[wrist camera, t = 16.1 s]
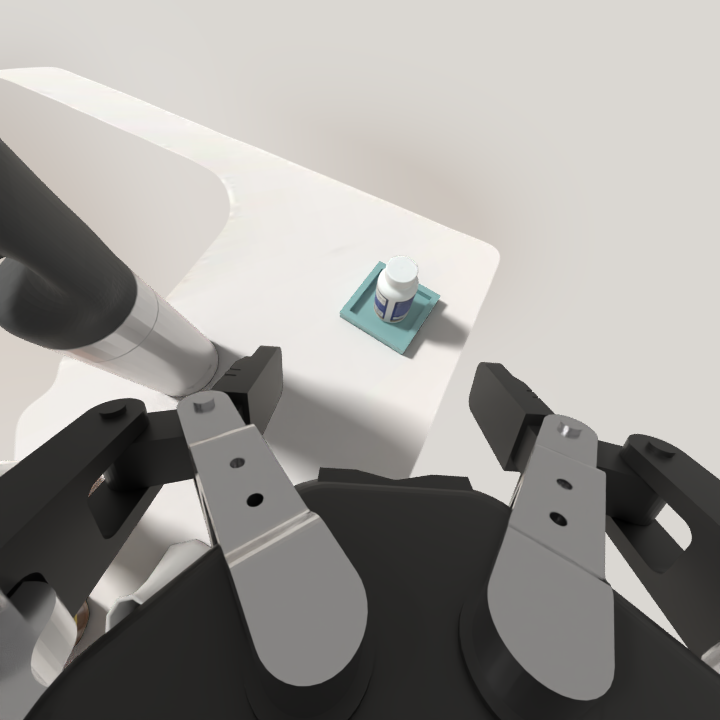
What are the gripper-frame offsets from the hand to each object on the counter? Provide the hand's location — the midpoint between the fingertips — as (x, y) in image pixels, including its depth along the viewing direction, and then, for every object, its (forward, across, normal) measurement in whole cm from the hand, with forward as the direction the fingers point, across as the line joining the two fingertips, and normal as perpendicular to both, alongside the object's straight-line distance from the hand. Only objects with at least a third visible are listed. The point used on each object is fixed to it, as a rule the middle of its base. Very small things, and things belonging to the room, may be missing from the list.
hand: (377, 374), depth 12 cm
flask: (+9, +18, +32) cm, 38 cm away
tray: (+34, -4, +6) cm, 35 cm away
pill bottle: (+34, -4, +6) cm, 35 cm away
